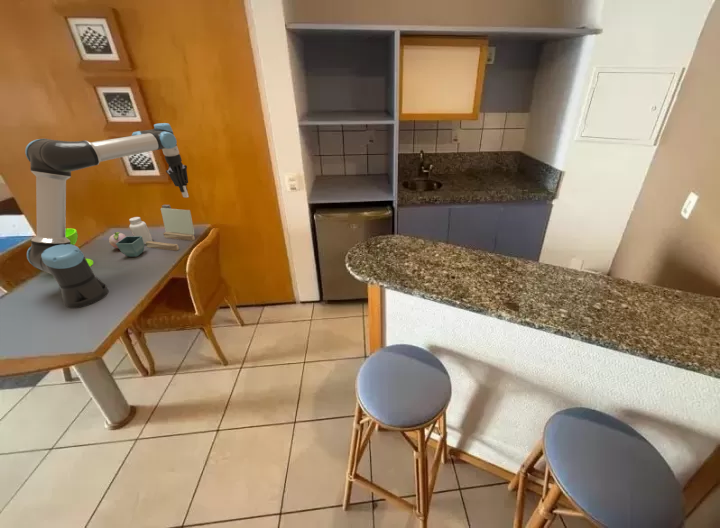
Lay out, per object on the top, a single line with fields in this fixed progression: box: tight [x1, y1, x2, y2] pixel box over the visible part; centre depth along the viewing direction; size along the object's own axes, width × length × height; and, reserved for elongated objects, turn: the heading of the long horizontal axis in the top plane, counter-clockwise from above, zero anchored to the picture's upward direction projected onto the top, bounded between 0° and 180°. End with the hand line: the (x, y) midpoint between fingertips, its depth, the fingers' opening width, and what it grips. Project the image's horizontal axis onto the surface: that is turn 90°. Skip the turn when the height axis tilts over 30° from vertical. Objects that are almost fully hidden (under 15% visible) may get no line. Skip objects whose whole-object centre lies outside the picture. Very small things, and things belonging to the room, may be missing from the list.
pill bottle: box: [128, 216, 154, 246], centre depth 175 cm, size 8×8×15 cm
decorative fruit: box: [108, 231, 127, 249], centre depth 170 cm, size 9×8×10 cm
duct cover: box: [160, 207, 195, 235], centre depth 179 cm, size 14×20×1 cm
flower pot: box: [116, 235, 145, 258], centre depth 164 cm, size 9×9×9 cm
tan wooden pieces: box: [145, 204, 196, 252], centre depth 175 cm, size 20×20×18 cm
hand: (186, 197), depth 178 cm, fingers closed
